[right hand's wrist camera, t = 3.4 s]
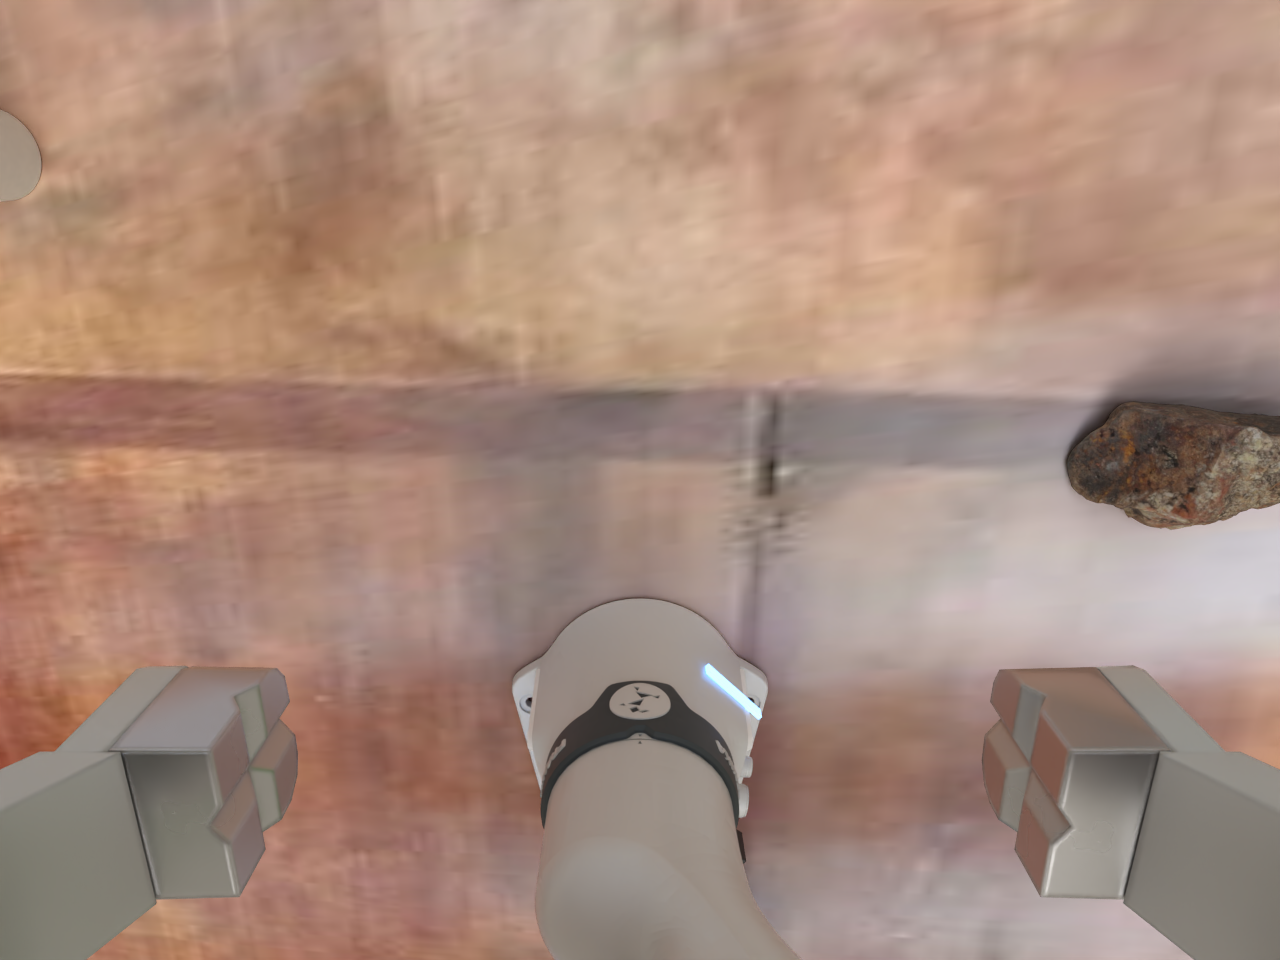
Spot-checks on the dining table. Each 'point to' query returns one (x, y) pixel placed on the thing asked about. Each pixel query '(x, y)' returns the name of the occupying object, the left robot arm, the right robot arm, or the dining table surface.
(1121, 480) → the rock
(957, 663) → the dining table surface
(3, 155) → the jar
